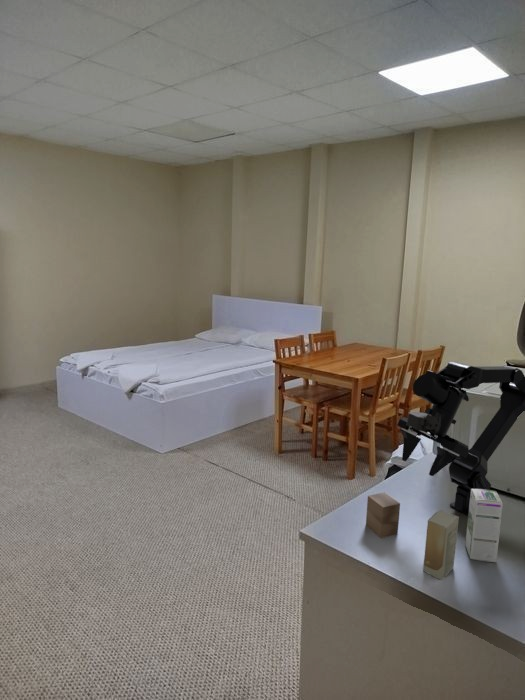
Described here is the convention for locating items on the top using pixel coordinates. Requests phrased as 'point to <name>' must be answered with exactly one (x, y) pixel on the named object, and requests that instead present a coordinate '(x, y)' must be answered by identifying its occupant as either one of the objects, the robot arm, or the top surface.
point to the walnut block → (382, 514)
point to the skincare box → (440, 544)
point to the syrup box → (483, 525)
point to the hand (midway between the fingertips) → (416, 467)
